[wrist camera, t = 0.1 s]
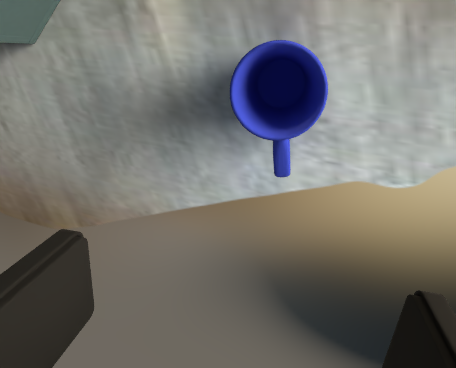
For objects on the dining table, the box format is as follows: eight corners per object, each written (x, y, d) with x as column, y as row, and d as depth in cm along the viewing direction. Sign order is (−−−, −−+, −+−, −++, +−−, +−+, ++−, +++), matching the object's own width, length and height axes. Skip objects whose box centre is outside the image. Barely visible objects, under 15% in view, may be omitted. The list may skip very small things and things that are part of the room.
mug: (250, 153, 40) (238, 183, 31) (241, 48, 36) (224, 46, 27) (320, 150, 39) (328, 180, 30) (318, 38, 35) (328, 33, 25)
